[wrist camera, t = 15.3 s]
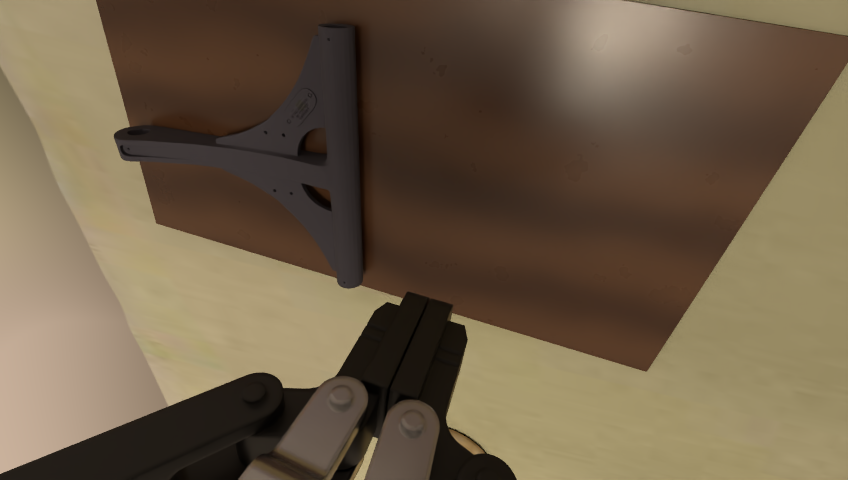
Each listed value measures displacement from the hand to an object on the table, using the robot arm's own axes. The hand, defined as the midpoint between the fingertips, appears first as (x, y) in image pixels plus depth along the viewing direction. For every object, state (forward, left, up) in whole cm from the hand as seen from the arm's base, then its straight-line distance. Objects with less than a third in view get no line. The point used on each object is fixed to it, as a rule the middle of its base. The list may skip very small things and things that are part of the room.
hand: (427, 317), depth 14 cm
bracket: (+1, -14, -10) cm, 17 cm away
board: (0, -5, -10) cm, 12 cm away
